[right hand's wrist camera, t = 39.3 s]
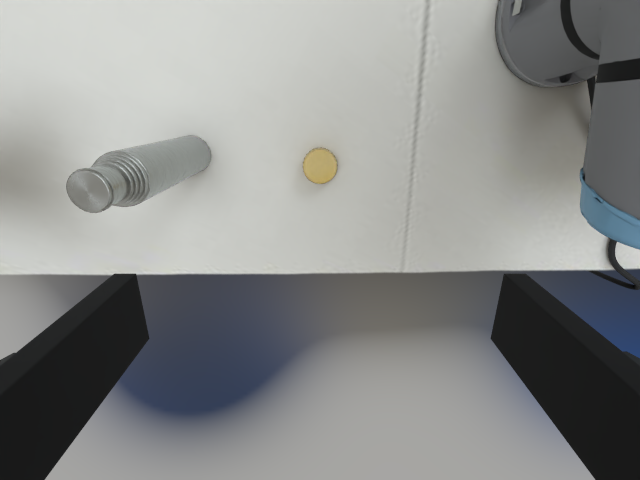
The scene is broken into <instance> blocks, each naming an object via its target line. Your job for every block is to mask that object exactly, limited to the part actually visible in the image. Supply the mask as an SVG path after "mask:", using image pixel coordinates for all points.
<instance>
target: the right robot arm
mask: <svg viewBox="0 0 640 480" xmlns="http://www.w3.org/2000/svg"><path fill="white" fill-rule="evenodd" d="M496 38H497V44H498V48H499V51H500V53H501V56H502V58H503V60H504V62H505V63H506V65H507V66H508V68H509V69H510V70H511V71H512V72H513V73H514V74H515V75H516V76H517V77H519V78H520V79H522V80H523V81H525V82H527V83H530V84H532V85H536V86H541V87H559V86H567V85H572V84H576V83H579V82H582V81H585V80H587V82H588V89H589V96H590V103H591V118H590V125H589V131H588V138H587V145H586V152H585V159H584V165H583V168H582V169H581V171H580V180H581V183H582V187H581V198H580V209H581V213H582V215H583V216H584V217H585V218H586V220H587V222H588V223H589V224H590V225H591V226H592V227H593V228H594V229H596V230H597V231H598V232H600V233H601V234H603V235H605V236H607V237H609V238H611V239H610V242H609V247H608V256H609V260H610V262H611V264H612V266H613V267H614V268H615V269H616V270H617V272H619V273H620V274H621V275H622V276H624V277H625V278H626V279H628V280H629V281H631V282H632V283H633V284H634V285H633V284H629V283H626V282H623V281H621V280H618V279H615V278H613V277H610V276H608V275H606V274H603V273H601V272H599V271H597V270H587V271H589V272H591V273H593V274H595V275H597V276H599V277H601V278H603V279H606V280H608V281H610V282H613V283H615V284H617V285H620V286H623V287H625V288H628V289H633V290H638V289H640V281H639V280H638V279H636V278H635V277H633V276H632V275H631V274H629V273H628V272H627V271H625V270H624V269H623V268H622V267H621V266H620V265H619V263H618V262H617V260H616V257H615V246H616V243H617V242H620V243H622V244H625V245H628V246H631V247H633V248H636V249H640V0H499V4H498V8H497V14H496ZM596 75H597V80H596V81H595V76H596ZM596 82H597V83H596ZM148 339H149V335H148V330H147V325H146V320H145V315H144V311H143V306H142V301H141V296H140V291H139V286H138V281H137V276H136V274H114V275H112V276H111V277H110V278H109V279H107V280H106V281H105V282H104V283H103V284H101V285H100V286H99V287H98V288H96V289H95V290H94V291H93V292H91V293H90V294H89V295H88V296H86V297H85V298H84V299H83V300H81V301H80V302H79V303H78V304H76V305H75V306H74V307H73V308H71V309H70V310H69V311H68V312H66V313H65V314H64V315H63V316H61V317H60V318H59V319H58V320H56V321H55V322H54V323H53V324H51V325H50V326H49V327H48V328H47V329H45V330H44V331H43V332H42V333H40V334H39V335H38V336H37V337H35V338H34V339H33V340H32V341H30V342H29V343H28V344H27V345H25V346H24V347H23V348H22V349H20V350H19V351H18V352H17V353H13V354H11V355H9V356H7V357H5V358H3V359H1V360H0V480H45V478H46V477H47V476H48V474H49V473H50V472H51V470H52V469H53V468H54V466H55V465H56V463H57V462H58V461H59V459H60V458H61V457H62V455H63V454H64V453H65V451H66V450H67V449H68V447H69V446H70V445H71V443H72V442H73V441H74V439H75V438H76V436H77V435H78V434H79V432H80V431H81V430H82V428H83V427H84V426H85V424H86V423H87V422H88V420H89V419H90V418H91V416H92V415H93V414H94V412H95V411H96V410H97V408H98V407H99V406H100V404H101V403H102V402H103V400H104V399H105V397H106V396H107V395H108V393H109V392H110V391H111V389H112V388H113V387H114V385H115V384H116V383H117V381H118V380H119V379H120V377H121V376H122V375H123V373H124V372H125V370H126V369H127V368H128V366H129V365H130V364H131V362H132V361H133V360H134V358H135V357H136V356H137V354H138V353H139V352H140V350H141V349H142V348H143V346H144V345H145V344H146V342H147V341H148ZM491 340H492V341H493V342H494V344H495V345H496V346H497V348H498V349H499V350H500V352H501V353H502V354H503V356H504V357H505V358H506V360H507V361H508V362H509V364H510V365H511V367H512V368H513V369H514V370H515V372H516V373H517V375H518V376H519V377H520V379H521V380H522V381H523V383H524V384H525V385H526V387H527V388H528V389H529V391H530V392H531V393H532V395H533V396H534V397H535V399H536V400H537V402H538V403H539V404H540V406H541V407H542V408H543V410H544V411H545V412H546V414H547V415H548V416H549V418H550V419H551V420H552V422H553V423H554V424H555V426H556V427H557V428H558V430H559V431H560V432H561V434H562V435H563V436H564V438H565V439H566V441H567V442H568V443H569V445H570V446H571V447H572V449H573V450H574V451H575V453H576V454H577V455H578V457H579V458H580V459H581V461H582V462H583V463H584V465H585V466H586V468H587V469H588V470H589V471H590V473H591V474H592V476H593V477H594V478H595V480H640V358H638V357H636V356H634V355H632V354H630V353H628V352H622V351H621V350H620V349H618V348H617V347H616V346H615V345H613V344H612V343H611V342H610V341H608V340H607V339H606V338H605V337H603V336H602V335H601V334H600V333H598V332H597V331H596V330H595V329H593V328H592V327H591V326H590V325H589V324H587V323H586V322H585V321H583V320H582V319H581V318H580V317H578V316H577V315H576V314H575V313H574V312H572V311H571V310H570V309H569V308H567V307H566V306H565V305H564V304H562V303H561V302H560V301H559V300H557V299H556V298H555V297H554V296H552V295H551V294H550V293H549V292H547V291H546V290H545V289H544V288H542V287H541V286H540V285H539V284H537V283H536V282H535V281H534V280H533V279H531V278H530V277H529V276H527V275H526V274H504V276H503V281H502V286H501V291H500V296H499V301H498V306H497V310H496V315H495V320H494V325H493V330H492V335H491Z"/></svg>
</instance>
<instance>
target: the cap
mask: <svg viewBox="0 0 640 480" xmlns="http://www.w3.org/2000/svg"><path fill="white" fill-rule="evenodd" d="M303 170H304V173H305V176H306V177H307V178H308V179H309V180H310V181H312V182H314V183H317V184H323V183H326V182H328V181H330V180H331V179H332V178H333V177H334V176H335V174H336V171H337V161H336V159H335V156H334V155H333V153H331V152H330V151H329V150H327V149H326V148H322V147H321V148H316V149H313V150H311V151H309V153H308V154H307V155H306V157H305V158H304V162H303Z"/></svg>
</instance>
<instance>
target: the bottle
mask: <svg viewBox="0 0 640 480" xmlns="http://www.w3.org/2000/svg"><path fill="white" fill-rule="evenodd" d="M210 160H211V152H210V149H209V147H208V145H207V144H206V142H205V141H204V140H202V139H201V138H199V137H196V136H185V137H180V138H175V139H170V140H165V141H160V142H156V143H151V144H146V145H141V146H136V147H131V148H126V149H122V150H117V151H112V152H108V153H106V154H104V155H102V156H101V157H99V158H98V159H97V160H96V161H95V163H94V164H93V165H92V167H91V168H83V169H79V170H77V171H75V172H73V173H72V174H71V176H70V177H69V179H68V181H67V193H68V195H69V197H70V199H71V201H72V202H73V203H74V204H75V205H76V206H78V207H79V208H80V209H82V210H84V211H87V212H90V213H98V212H102V211H104V210H106V209H108V208H109V207H110V206H112V205H113V206H120V207H129V206H134V205H137V204H139V203H141V202H143V201H145V200H147V199H149V198H151V197H153V196H155V195H157V194H158V193H160V192H162V191H164V190H166V189H168V188H170V187H172V186H174V185H176V184H177V183H179V182H181V181H183V180H185V179H187V178H189V177H191V176H193V175H195V174H196V173H198V172H200V171H202V170H204V169H205V168H206V167H207V166H208V165H209V163H210Z"/></svg>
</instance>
